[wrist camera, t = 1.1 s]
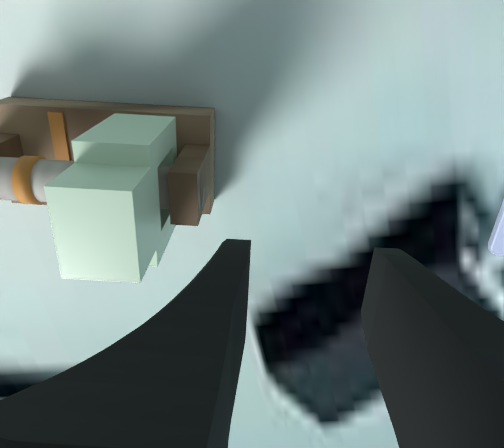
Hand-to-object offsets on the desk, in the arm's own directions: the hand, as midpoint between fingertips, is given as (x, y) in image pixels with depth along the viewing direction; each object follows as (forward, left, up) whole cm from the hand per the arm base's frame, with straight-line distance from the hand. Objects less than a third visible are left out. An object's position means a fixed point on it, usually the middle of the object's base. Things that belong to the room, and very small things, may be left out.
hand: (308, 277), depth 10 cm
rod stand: (+8, 0, -9) cm, 12 cm away
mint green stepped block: (+6, 0, -7) cm, 10 cm away
